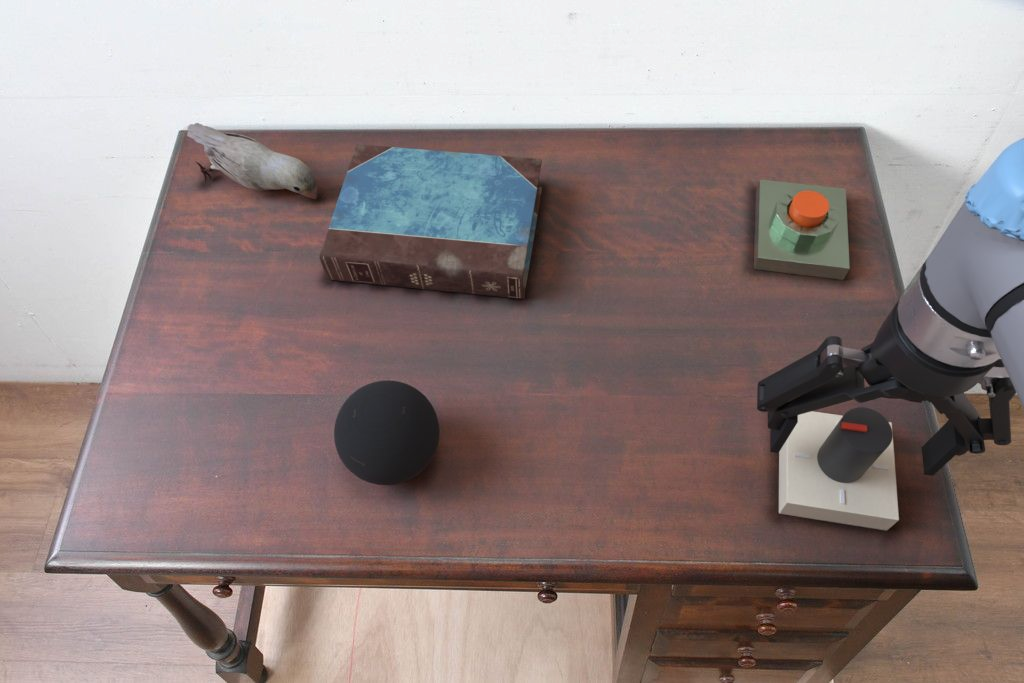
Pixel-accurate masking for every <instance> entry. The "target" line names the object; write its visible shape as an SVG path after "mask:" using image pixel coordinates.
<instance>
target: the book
mask: <svg viewBox="0 0 1024 683" xmlns="http://www.w3.org/2000/svg"><path fill="white" fill-rule="evenodd" d="M542 162H543V159H541V158H531V157H522V156H521V157H520V156H508V155H497V154H496V155H495V154H485V153H484V154H482V153H470V152H469V153H468V152H459V151H446V150H434V149H433V150H432V149H421V148H411V147H410V148H409V147H396V146H384V145H374V144H373V145H371V144H360V143H359V144H356V145H355V147H354V151H353V153H352V156H351V159H350V162H349V166H348V168H347V171H346V175H345V176H344V180H343V182H342V186H341V190H340V192H339V195H338V198H337V201H336V204H335V207H334V210H333V213H332V217H331V220H330V222H329V225H328V228H327V232H326V236H325V239H324V242H323V246H322V249H321V251H320V252H319V261H320V263H321V264H320V265H321V266H322V269H323V271H324V273H325V275H326V277H327V279H328V280H330V281H338V282H348V283H349V282H350V283H358V284H370V285H380V286H388V287H389V286H390V287H399V288H409V289H419V290H428V291H440V292H450V293H458V294H459V293H460V294H470V295H478V296H479V295H480V296H489V297H490V296H491V297H499V298H510V299H519V300H520V299H521V300H524V299H525V294H526V290H527V289H526V288H527V282H528V276H529V272H530V271H529V270H530V265H531V258H532V253H533V252H532V251H533V247H534V246H533V245H534V239H535V234H536V227H537V223H538V222H537V221H538V216H539V210H540V203H541V198H542V191H543V187H542V186H539V180H540V175H541V168H542Z"/></svg>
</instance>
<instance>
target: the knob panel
mask: <svg viewBox="0 0 1024 683" xmlns="http://www.w3.org/2000/svg"><path fill="white" fill-rule="evenodd" d="M842 417H843V415H842V414H834V413H827V412H820V411H815V410H814V411H811V412H807V413H804V414H800V415H798V423H797V424H796V426H795V427H794V429H793V431H792V432H791V434H790V435H789V437H788V439H787V440H786V442H785V443H784V445H783V447H782V448H781V450H780V451H779V453H778V514H779V515H784V516H785V515H787V516H793V517H798V518H805V519H811V520H816V521H817V520H818V521H824V522H830V523H836V524H841V525H849V526H855V527H862V528H867V529H873V530H881V531H888V530H890V528H892V527H893V526H894V525H896V523H897V522H899V521H900V516H899V502H898V487H897V486H898V485H897V474H896V460H895V447H894V436H893V437H892V441H891V443H890V445H889V446H888V447H887V449H886V450H885V451H884V452H883V453H882V454H881V455H880V456H879V457H878V459H877V460H876V461H875V462H874V463H873V464H872V465H871V466H870V467H869V469H868V470H867V471H866V472H865V473H864V474H863V475H862V476H861V477H860V478H859V479H858V480H856V481H854V482H850V483H841V482H837V481H835V480H832V479H831V478H829V477H828V476H827V475H825V474H824V472H823V471H822V470H821V468H820V466H819V464H818V460H817V455H818V451H819V449H820V447H821V446H822V444H823V443H824V442H825V440H826V439H827V437H828V436H829V435H830V433H831V432H832V431H833V429H834V428H835V426H836V425H837V424H838V422H839V421H840V420H841V418H842ZM888 422H889V424H890V426H891V429H892V430H893V422H891V421H888ZM892 434H893V431H892ZM893 435H894V434H893Z"/></svg>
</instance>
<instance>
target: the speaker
mask: <svg viewBox="0 0 1024 683" xmlns="http://www.w3.org/2000/svg"><path fill="white" fill-rule="evenodd" d="M333 439H334V445H335V449H336V452H337V454H338V457H339V459H340V460H341V462H342V464H343V465H344V467H346V469H348V470H349V472H350V473H351V474H353V475H354V476H356V477H357V478H358V479H360V480H362V481H365V482H367V483H370V484H373V485H377V486H378V485H379V486H394V485H399V484H402V483H405V482H409V481H410V480H412V479H414V478H415V477H417V476H418V475H419V474H421V473H422V472H423V471H425V469H426V468H427V467H428V466H429V464H430V463H431V462H432V460H433V458H434V457H435V454H436V452H437V449H438V446H439V443H440V442H439V441H440V422H439V418H438V415H437V413H436V410H435V407H434V406H433V404H432V403H431V401H430V400H429V399H428V397H427V396H426V395H424V393H422V391H420V390H418V389H417V388H416V387H415V386H412V385H411V384H408V383H405V382H402V381H398V380H377V381H374V382H370V383H367V384H365V385H362V386H361V387H359V388H357V389H356V390H355V391H354V392H353V393H351V394H350V396H348V397H347V399H346V400H345V401H344V402H343V404H342V405H341V406H340V409H339V411H338V412H337V415H336V419H335V422H334V428H333Z"/></svg>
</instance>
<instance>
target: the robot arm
mask: <svg viewBox="0 0 1024 683" xmlns="http://www.w3.org/2000/svg"><path fill="white" fill-rule="evenodd" d="M865 382H866V383H867V384H868V386H865ZM977 384H979V385H980V387H981V390H982V391H986V397H988V405H989V406H988V407H989V417H982V416H981V414H980V413H979V411H978V410H977V408H976V406H974V405H973V403H972V402H971V400H970V399H969V398H968V397H967V395H966V392H968V391H970V390H971V389H973V388H974V387H975V386H976V385H977ZM756 394H757V395H756V397H757V398H756V399H757V400H756V410H757V411H759V412H761V413H767V429H770V432H769V433H770V434H769V435H770V436H769V438H770V439H769V440H770V442H769V445H770V446H769V452H770V453H776V454H779V451H780V450H781V448H782V447H783V445H784V443H785V442H786V440H787V439H788V437H789V435H790V434H791V432H792V431H793V429H794V427H795V426H796V424H797V423H798V415H800V414H804V413H807V412H811V411H814V412H815V411H817V410H822V409H824V408H828V407H832V406H835V405H838V404H843V403H847V402H850V401H853V400H854V401H855V402H857V403H859V404H862V403H863V404H864V403H866V402H870V401H874V400H877V399H880V398H883V399H889V400H890V399H892V400H893V399H895V400H904V401H907V402H912V403H918V404H921V403H923V402H928V403H931V404H932V406H933V407H934V408H935V409H936V410H937V412H938V413H939V414H940V415H944V416H945V417H946V419H948V420H947V421H946V422H945V423H944V424H943V425H942V426H941V427H940V428H939V429H938V430H937V431H936V432H935V433H934V434H933V435H932V436H931V437H930V439H929V440H927V441H926V443H924V444H923V445H922V446H921V456H922V467H923V468H922V469H923V475H924V476H930V477H934V476H935V474H937V473H938V472H939V471H940V470H941V469H942V468H944V467H945V465H947V464H948V463H949V462H950V461H951V460H952V459H953V458H954V457H956V456H959V457H961V456H964V455H965V454H967V453H971V454H975V455H976V454H977V455H979V454H983V453H985V452H986V445H985V441H993V443H994V444H995V445H996V446H1008V445H1010V444H1011V443H1012V430H1011V429H1012V428H1011V410H1010V402H1011V400H1012V399H1013V398H1014V396H1015V395H1017V397H1018V399H1019V402H1020V404H1021V406H1022V409H1024V137H1023V138H1019V139H1017V140H1016V141H1014V142H1013V143H1011V144H1009V145H1008V146H1007V147H1006V148H1004V149H1003V150H1002V151H1001V153H999V155H998V156H997V157H996V158H995V159H994V161H993V162H992V163H991V165H990V166H989V167H988V168H987V169H986V171H984V173H983V174H982V175H981V177H980V178H979V179H978V181H977V182H976V183H974V184H973V185H972V186H970V188H969V189H968V190H967V192H966V195H965V200H964V201H963V203H962V204H961V206H960V207H959V209H958V210H957V212H956V214H955V215H954V217H953V218H952V220H951V221H950V222H949V224H948V225H947V228H946V229H945V231H944V232H943V234H942V235H941V236H940V238H939V240H938V241H937V243H936V244H935V246H934V247H933V249H932V251H931V252H930V253H929V255H928V256H927V258H926V259H925V261H924V262H923V263H922V265H921V266H920V268H918V270H917V272H916V273H915V275H914V276H913V278H912V279H911V281H910V282H909V283H908V285H907V286H906V287H905V289H904V290H903V292H902V294H901V296H900V297H899V299H898V300H897V302H896V303H895V305H894V306H893V308H892V309H891V311H890V312H889V314H888V315H887V316H886V318H885V319H884V321H883V323H882V324H881V325H880V327H879V329H878V331H877V333H876V335H875V338H874V340H873V341H872V342H871V343H869V344H867V345H865V346H863V347H862V348H860V349H855V348H852V347H851V348H850V347H845V346H843V339H842V338H841V337H840V336H836V335H832V336H828V337H826V338H825V339H824V340H823V341H822V343H821V344H820V345H819V346H818V348H817V349H816V350H813V351H811V352H810V353H808V354H806V355H805V356H803V357H801V358H799V359H797V360H796V361H794V362H792V363H790V364H788V365H787V366H785V367H783V368H781V369H780V370H777V371H776V372H774V373H772V374H770V375H768V376H766V377H765V378H763V379H761V380H759V381H758V382H757V392H756Z"/></svg>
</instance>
